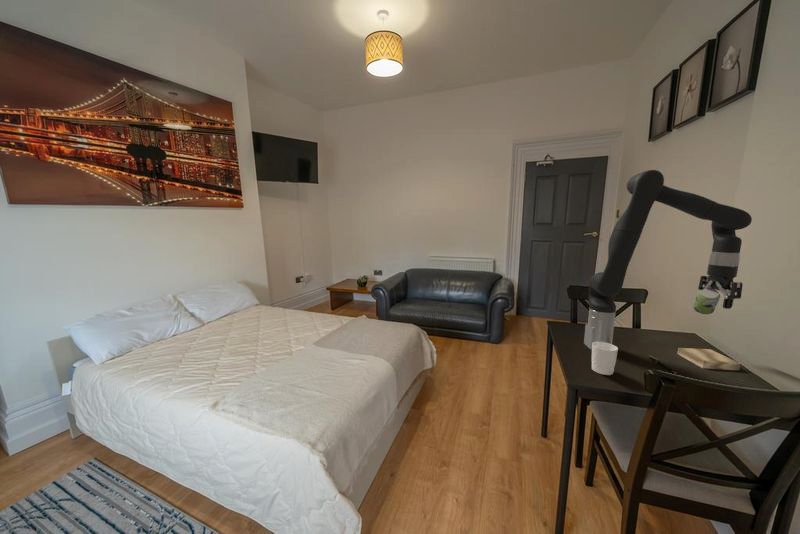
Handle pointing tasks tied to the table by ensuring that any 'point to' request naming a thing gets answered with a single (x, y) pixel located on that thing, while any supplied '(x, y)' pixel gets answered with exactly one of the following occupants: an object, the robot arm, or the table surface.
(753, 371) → the table surface
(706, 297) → the beverage can
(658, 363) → the fountain pen
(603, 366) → the white cup
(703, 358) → the base
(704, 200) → the robot arm
